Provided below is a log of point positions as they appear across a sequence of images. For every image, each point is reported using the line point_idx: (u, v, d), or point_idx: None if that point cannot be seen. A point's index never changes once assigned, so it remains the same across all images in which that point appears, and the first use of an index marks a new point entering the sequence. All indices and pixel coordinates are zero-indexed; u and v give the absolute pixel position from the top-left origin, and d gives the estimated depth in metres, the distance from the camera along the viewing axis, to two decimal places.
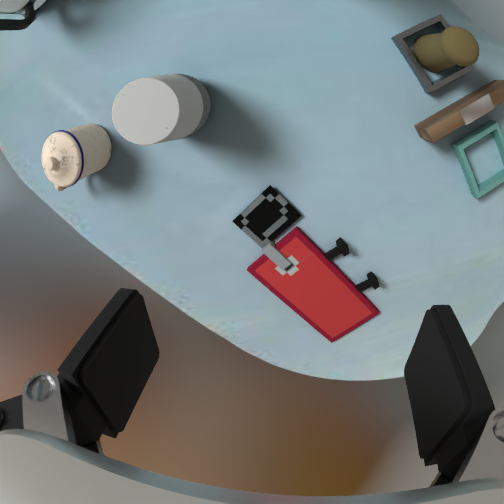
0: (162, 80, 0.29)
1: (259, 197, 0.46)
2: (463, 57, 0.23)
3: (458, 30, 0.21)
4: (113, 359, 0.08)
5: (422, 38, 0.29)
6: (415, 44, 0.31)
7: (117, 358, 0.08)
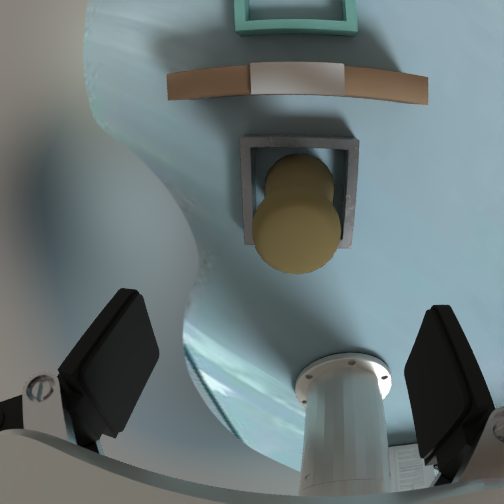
0: None
1: None
2: (320, 222, 0.16)
3: (289, 270, 0.18)
4: (113, 359, 0.08)
5: None
6: None
7: (117, 358, 0.08)
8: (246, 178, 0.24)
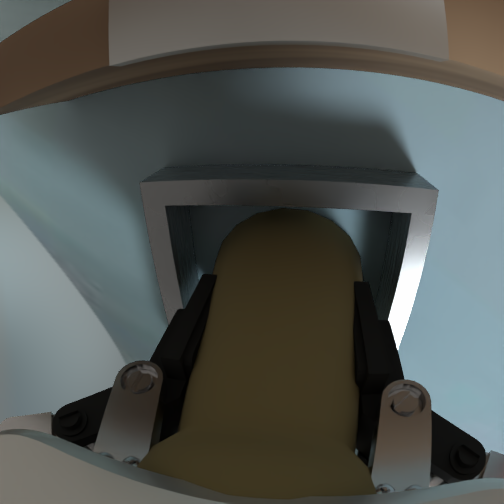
0: None
1: None
2: None
3: None
4: None
5: None
6: None
7: None
8: (167, 274, 0.11)
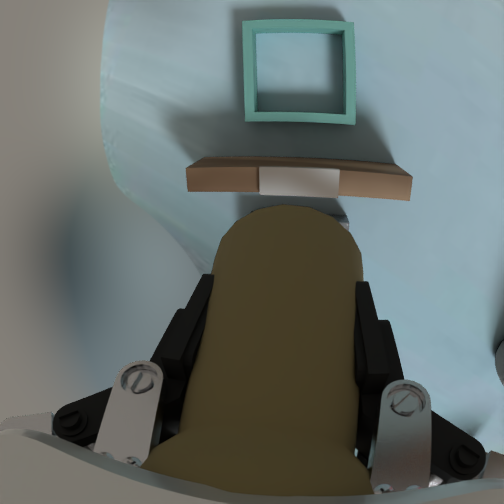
0: None
1: None
2: None
3: None
4: None
5: None
6: None
7: None
8: None
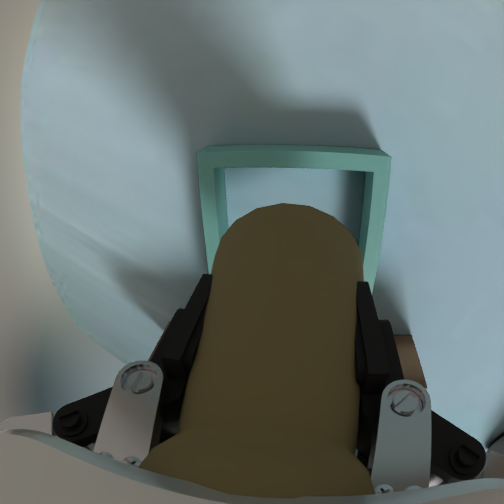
0: None
1: None
2: None
3: None
4: None
5: None
6: None
7: None
8: None
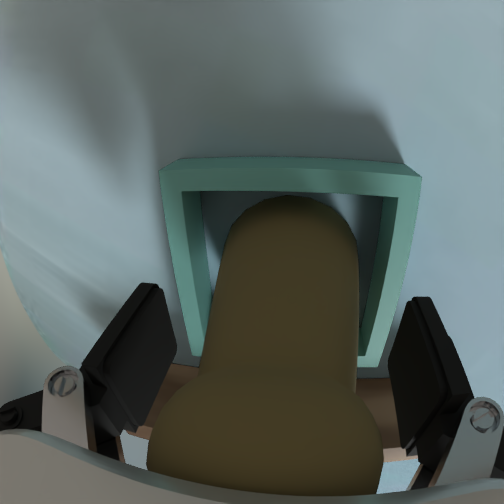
0: None
1: None
2: None
3: None
4: (136, 352, 0.08)
5: None
6: None
7: (139, 352, 0.08)
8: None
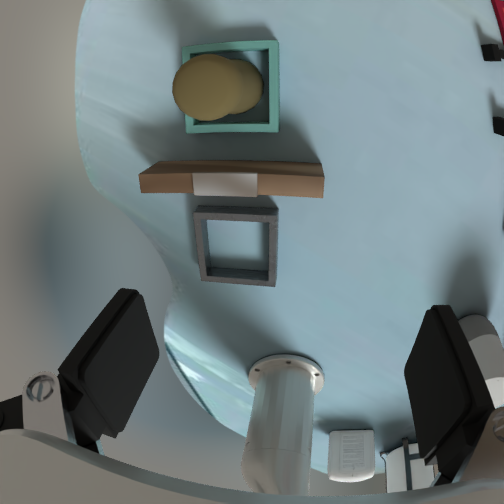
0: None
1: None
2: (219, 70, 0.18)
3: (198, 112, 0.20)
4: (113, 359, 0.08)
5: (238, 111, 0.27)
6: (251, 107, 0.28)
7: (117, 358, 0.08)
8: (199, 239, 0.35)
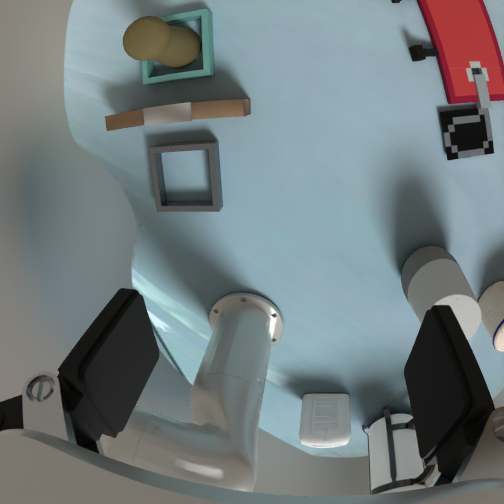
0: None
1: (462, 156, 0.33)
2: (151, 23, 0.23)
3: (137, 53, 0.24)
4: (113, 359, 0.08)
5: (180, 63, 0.32)
6: (192, 60, 0.33)
7: (117, 358, 0.08)
8: (154, 171, 0.40)
